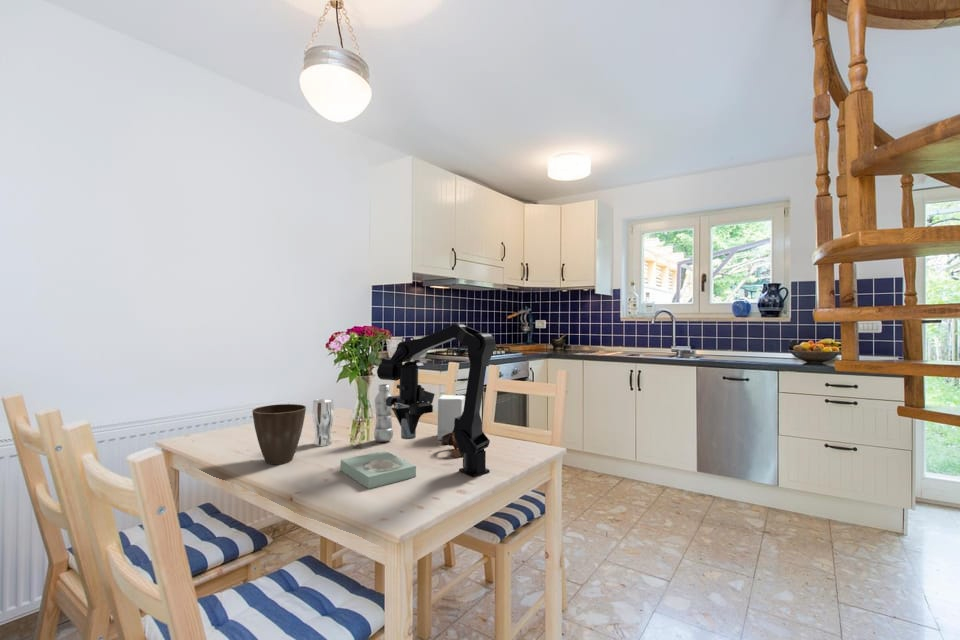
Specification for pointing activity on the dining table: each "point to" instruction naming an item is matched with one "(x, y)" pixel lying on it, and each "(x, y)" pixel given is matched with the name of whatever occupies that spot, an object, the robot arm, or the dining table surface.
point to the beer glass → (323, 421)
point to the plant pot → (278, 431)
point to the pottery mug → (451, 443)
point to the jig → (378, 469)
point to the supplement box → (449, 413)
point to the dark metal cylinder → (406, 430)
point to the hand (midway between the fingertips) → (408, 432)
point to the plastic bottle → (383, 415)
